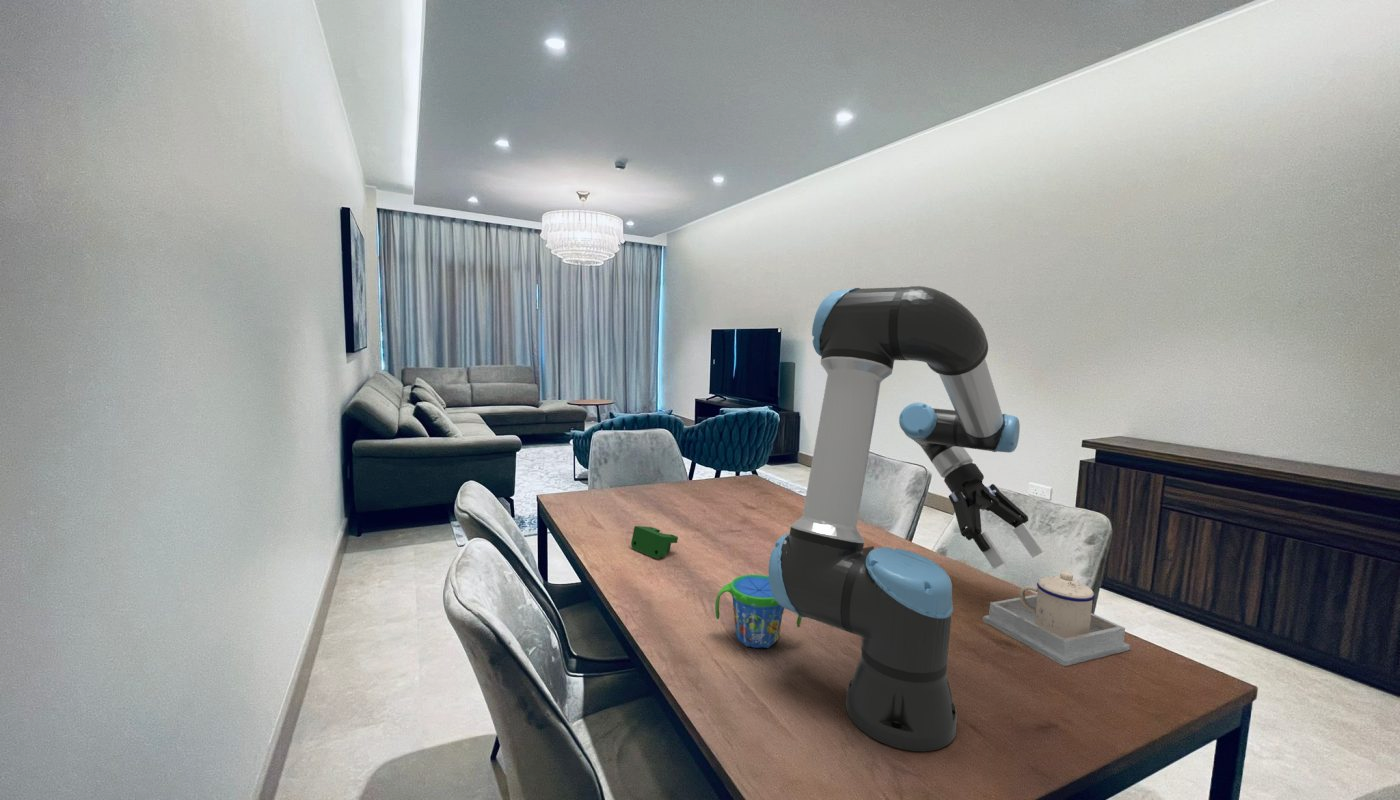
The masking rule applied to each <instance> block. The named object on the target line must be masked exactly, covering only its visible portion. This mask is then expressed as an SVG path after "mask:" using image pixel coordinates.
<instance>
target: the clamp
mask: <svg viewBox="0 0 1400 800" xmlns="http://www.w3.org/2000/svg"><path fill="white" fill-rule="evenodd" d="M678 540H679V537H678V536H676V535H674V534H671V533H670V534H669V533H664V532H661V530H660V529H658V528H656V527H652V526H639V525H635V526H634V527H633V533H632V538H631V542H630V544H631V545H630V546H631V548H632V549H633V550H635V551H638V552H639V553H642V554H644V555H647V556H649V557H652V558H653V559H664V558H666V555H667V553H668V554H669V553H670V551H671V546H672V544H678Z"/></svg>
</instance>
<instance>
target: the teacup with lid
mask: <svg viewBox="0 0 1400 800" xmlns="http://www.w3.org/2000/svg"><path fill="white" fill-rule="evenodd" d="M1073 577H1074V576H1073V574H1072V573H1071V572H1068V571H1061V572H1060V573H1059V575H1055V576H1045V577H1041V578H1040V579H1039V580H1038V581H1037V582H1036V586H1035V585H1031V584H1030V585H1025V586H1023V587H1022V588H1021V589H1020V591H1019V597H1020V600H1021V602H1022V604H1023V606H1024V607H1025V608H1026V609H1028V610H1029V611H1031V612H1033V613H1036V616H1035V624H1037V625H1039V626H1041V627H1042V628H1044V629H1046V630H1048V631H1050V632H1052V633H1054V634H1056V635H1058V636H1060V637H1062V638H1064V639H1065V638H1069V637H1074V636H1078V635H1083V634H1087V633H1089V630H1090V620H1091V613H1092V611H1093V610H1092V609H1093V600H1094V599H1095V597H1096V596H1095V592H1094V591H1093V590H1092V588H1090V587H1089V586H1087V584H1084V583H1082V582H1080V581H1079V580H1077V579H1075V578H1073ZM1028 590H1030V591H1034V592H1035V593H1037V605H1036V608H1033V607H1032V606H1030V605H1029V604H1028V603H1027V601H1026V599H1025V596H1026V595H1025V592H1026V591H1028Z"/></svg>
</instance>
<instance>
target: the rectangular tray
mask: <svg viewBox="0 0 1400 800" xmlns="http://www.w3.org/2000/svg"><path fill="white" fill-rule="evenodd" d="M1037 594H1038V593H1037ZM1037 594H1031V595H1025V599H1026V601H1027V603H1028V604H1029V605H1030V606H1032V607H1033V608H1036V605H1037ZM988 610H989V611H988V615H983V616H982V622H983V623H986V624H988V625H990V626H991V627H993V628H995V629H996V630H998V631H1000V632H1002V633H1004V634H1005V635H1007V636H1009V637H1011V638H1012V639H1015V640H1016V641H1018V642H1020V643H1021V644H1023V645H1025V646H1027V647H1029V648H1031V649H1033V650H1034V651H1036V652H1037V653H1039V654H1041V655H1043V656H1045V657H1047V658H1048V659H1050V660H1052V661H1054V662H1056V663H1058V664H1059V665H1061V666H1062V667H1068V666H1071V665H1075V664H1081V663H1085V662H1088V661H1092V660H1095V659H1101V658H1103V657H1108V656H1112V655H1116V654H1121V653H1124V652H1128V651H1130V650H1131V649H1130V648H1131V645H1130V644H1129V643H1127V642H1125V633H1126V627H1124V626H1121V625H1119V624H1117V623H1115V622H1112V621H1110V620H1109V619H1105V618H1103V617H1101V616H1100V615H1097V614H1096V613H1092V612H1091V620H1090V630H1089V633H1087V634H1083V635H1078V636H1074V637H1069V638H1065V639H1064V638H1062V637H1060V636H1058V635H1056V634H1054V633H1052V632H1050V631H1048V630H1046V629H1044V628H1042V627H1041V626H1039V625H1037V624H1035V616H1036V613H1033V612H1031V611H1029V610H1028V609H1026V608H1025V607H1024V606H1023V604H1022V602H1021V600H1020V596H1018V597H1014V598H1008V599H1004V600H998V601H993V602H990V603H989V609H988Z"/></svg>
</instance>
